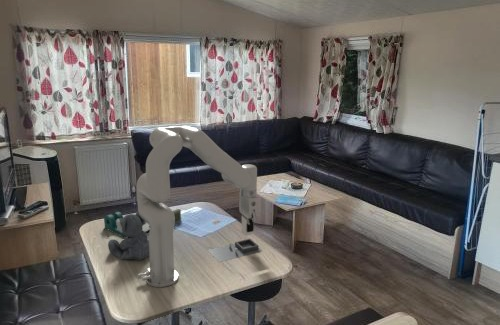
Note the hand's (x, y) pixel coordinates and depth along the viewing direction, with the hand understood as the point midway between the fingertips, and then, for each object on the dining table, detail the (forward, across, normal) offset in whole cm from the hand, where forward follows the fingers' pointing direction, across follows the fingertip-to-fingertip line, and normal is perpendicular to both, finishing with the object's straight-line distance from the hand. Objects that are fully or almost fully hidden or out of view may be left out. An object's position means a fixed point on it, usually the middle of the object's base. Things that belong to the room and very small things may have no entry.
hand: (247, 229), depth 179 cm
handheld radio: (+11, +41, +28) cm, 50 cm away
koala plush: (+10, +20, +47) cm, 52 cm away
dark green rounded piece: (+10, +46, +48) cm, 67 cm away
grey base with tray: (+10, 0, +6) cm, 12 cm away
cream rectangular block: (+2, 0, 0) cm, 2 cm away
